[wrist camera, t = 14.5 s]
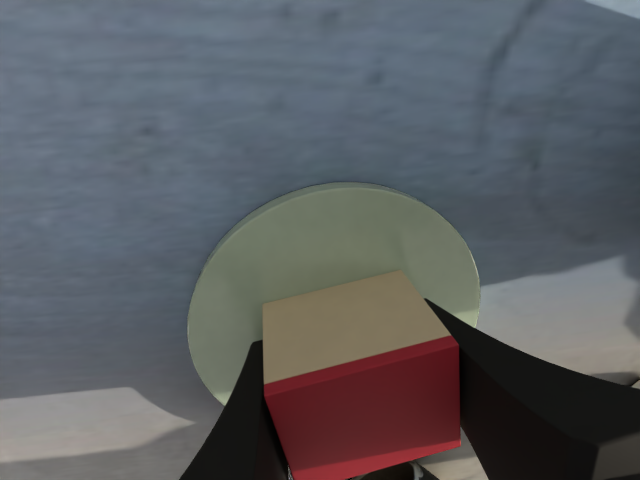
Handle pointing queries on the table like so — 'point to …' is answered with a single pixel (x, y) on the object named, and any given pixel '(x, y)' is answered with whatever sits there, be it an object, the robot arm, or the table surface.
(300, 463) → the cake slice
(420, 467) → the camera
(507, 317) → the table surface
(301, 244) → the plate
